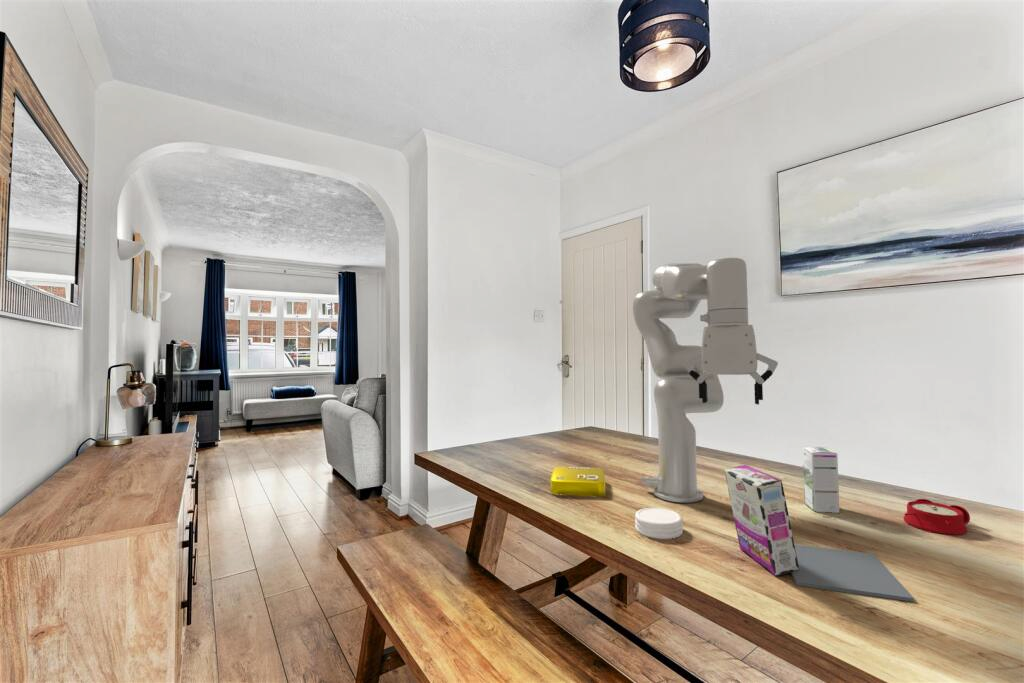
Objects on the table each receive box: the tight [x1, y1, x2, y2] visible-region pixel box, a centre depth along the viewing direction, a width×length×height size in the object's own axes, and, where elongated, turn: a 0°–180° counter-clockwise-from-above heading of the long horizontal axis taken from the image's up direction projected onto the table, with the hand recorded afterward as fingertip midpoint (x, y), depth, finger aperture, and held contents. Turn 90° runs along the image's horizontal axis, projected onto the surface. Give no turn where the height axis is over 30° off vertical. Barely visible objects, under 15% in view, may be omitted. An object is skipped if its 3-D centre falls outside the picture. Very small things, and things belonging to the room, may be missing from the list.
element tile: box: [549, 466, 607, 498], centre depth 132 cm, size 15×15×5 cm
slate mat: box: [790, 544, 915, 603], centre depth 83 cm, size 16×16×1 cm
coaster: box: [634, 507, 684, 540], centre depth 102 cm, size 10×10×4 cm
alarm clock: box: [903, 498, 971, 536], centre depth 103 cm, size 10×6×15 cm
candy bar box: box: [724, 464, 799, 577], centre depth 86 cm, size 11×5×16 cm, turn 5°
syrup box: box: [802, 446, 840, 514], centre depth 113 cm, size 6×6×14 cm
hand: (730, 403), depth 94 cm, fingers open, 9 cm apart
